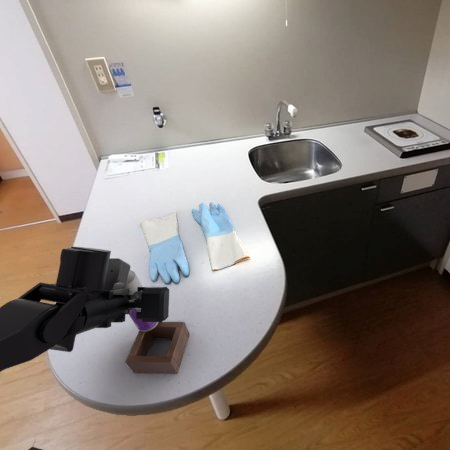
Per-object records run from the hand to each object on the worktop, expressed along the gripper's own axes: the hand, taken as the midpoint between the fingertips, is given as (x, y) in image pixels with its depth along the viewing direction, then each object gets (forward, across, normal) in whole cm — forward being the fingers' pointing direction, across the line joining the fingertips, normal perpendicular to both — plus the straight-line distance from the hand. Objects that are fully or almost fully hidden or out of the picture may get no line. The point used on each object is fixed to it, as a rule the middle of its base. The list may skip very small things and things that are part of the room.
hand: (140, 297), depth 65 cm
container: (+4, 0, +6) cm, 7 cm away
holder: (+5, -3, +13) cm, 14 cm away
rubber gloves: (+31, 0, -14) cm, 34 cm away
